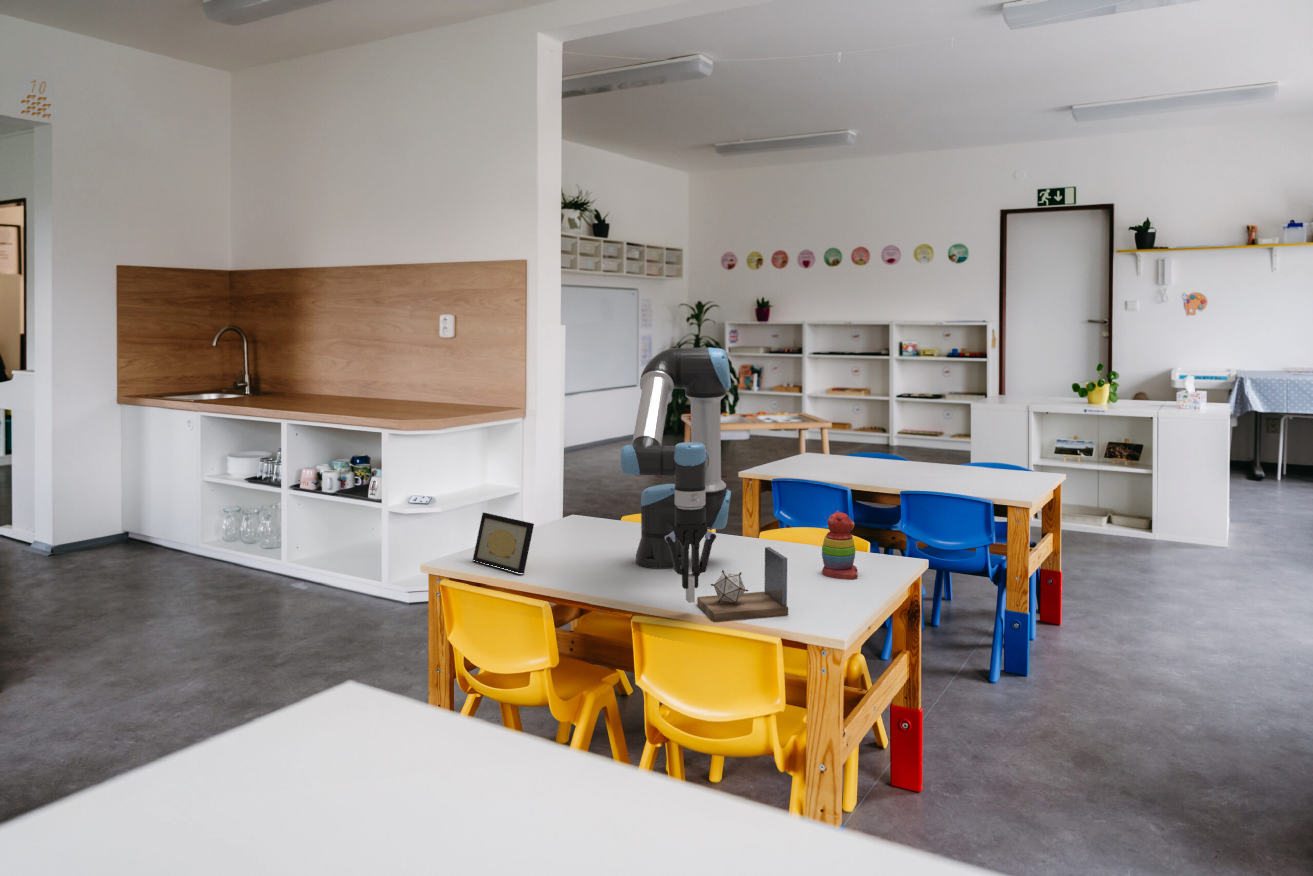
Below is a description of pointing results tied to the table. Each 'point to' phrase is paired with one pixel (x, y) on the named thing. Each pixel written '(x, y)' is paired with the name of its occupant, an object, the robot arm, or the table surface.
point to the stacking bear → (839, 548)
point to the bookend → (776, 576)
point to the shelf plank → (741, 607)
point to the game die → (729, 587)
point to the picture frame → (503, 542)
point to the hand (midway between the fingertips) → (690, 600)
